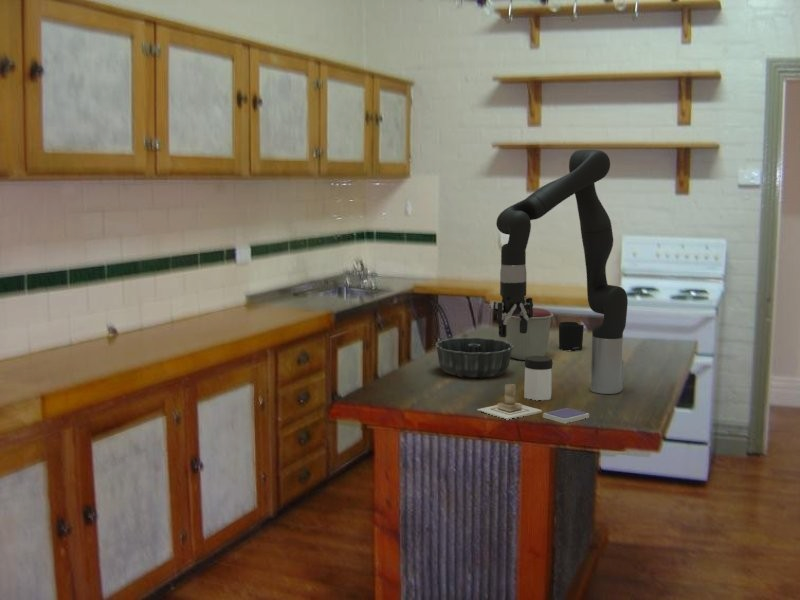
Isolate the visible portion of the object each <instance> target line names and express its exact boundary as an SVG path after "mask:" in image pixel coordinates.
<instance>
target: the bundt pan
mask: <svg viewBox="0 0 800 600" xmlns="http://www.w3.org/2000/svg"><path fill="white" fill-rule="evenodd" d="M435 348H436V349H437V357H438V363H439V367H440V368H441V370H442V371H444V373H447V374H449V375H451V376H457V377H458V378H464V377H466V378H469V379H474V378H476V377H477V378H479V379H482V378H484V377H486V378H492V377H497V376H500V375H501V376H502V374H503V373H504V372H505V371H506V370H507V369H508V368H509V366H510V363H511V358H512V357H511V352H512V349H513V348H514V346H513V345H512V343H507V340H506V341H505V340H500V339H495V338H486V337H459V338H458V337H456V338H454V337H453V338H447V339H442V340H440V341H437V342H436V343H435Z"/></svg>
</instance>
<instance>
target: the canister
mask: <svg viewBox="0 0 800 600" xmlns="http://www.w3.org/2000/svg"><path fill="white" fill-rule="evenodd" d="M528 313H529V310H528ZM504 314H506V313H504ZM553 317H554V314H553V313H552V312H551V311H550V310H548V309H544V308H540V307H539V308H538V307H533V317H532V318H529V320H528V321H527V333H525V334H523V333H520V318H519V316H518V315H517V314H515V315H511V317H510V318H509V319H508V321H507V323H506V324H505V325H507V336H506V342H507V343H512V345H513V346H514V348H513V349H512V352H511V357H510V358H512V359H515V360H519V361H525V358H526V357H530V356H544V357H546V354H547V350H548V345H549V337H550V331H551V323H552V318H553Z"/></svg>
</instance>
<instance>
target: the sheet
mask: <svg viewBox="0 0 800 600" xmlns="http://www.w3.org/2000/svg"><path fill="white" fill-rule="evenodd" d="M477 410H478V411H482V412H484V413H487V414H486V415H488V414H490V415H489V416H491V415H493V416H492V417H494V416H497V417H496V418H498V417H500V418H499V419H501V418H504V419H506V420H505V421H510V420H513V419H512V418H515V419H518V418H517V417H519V418H523V416H524V417H528V416H531V415H537V414H541V413H542V414H543V409H539V408H536V407H531V406H528V405H524V404H522V410H521V411H516V412H512V413H508V412H505V411H501V410H498V404H495V405H491V406H486V407H481V408H477V409H476V411H477ZM478 411H477V412H478ZM484 413H483V414H484ZM504 419H503V420H504ZM509 419H510V420H509Z"/></svg>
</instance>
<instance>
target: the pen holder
mask: <svg viewBox="0 0 800 600" xmlns="http://www.w3.org/2000/svg"><path fill="white" fill-rule="evenodd" d="M584 326H585V325H584V324H580V323H578V322H575V321H562V322H559V323H558V348H559V350H561V349H562V350H561V351H564V350H571V351H570V352H576V351H575V350H580V351H582V350H583V340H584V328H585V327H584Z"/></svg>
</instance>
